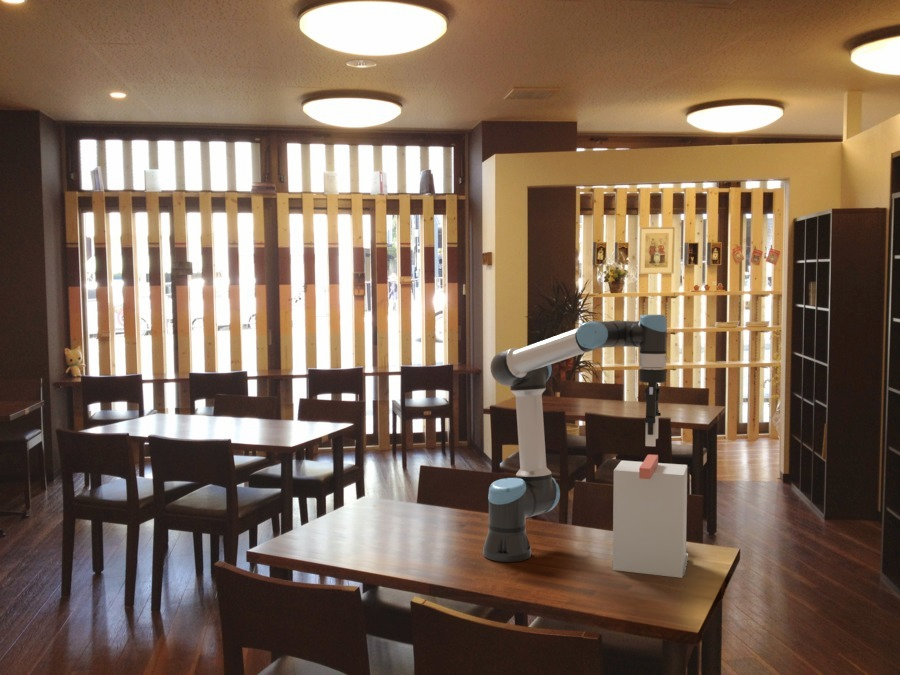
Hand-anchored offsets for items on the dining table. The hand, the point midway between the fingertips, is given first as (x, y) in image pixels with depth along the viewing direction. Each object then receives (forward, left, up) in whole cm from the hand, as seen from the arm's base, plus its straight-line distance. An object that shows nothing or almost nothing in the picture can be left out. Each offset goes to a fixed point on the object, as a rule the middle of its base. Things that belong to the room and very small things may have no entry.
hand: (651, 442), depth 230 cm
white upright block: (-9, +8, -40) cm, 41 cm away
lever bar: (-5, +4, -10) cm, 11 cm away
